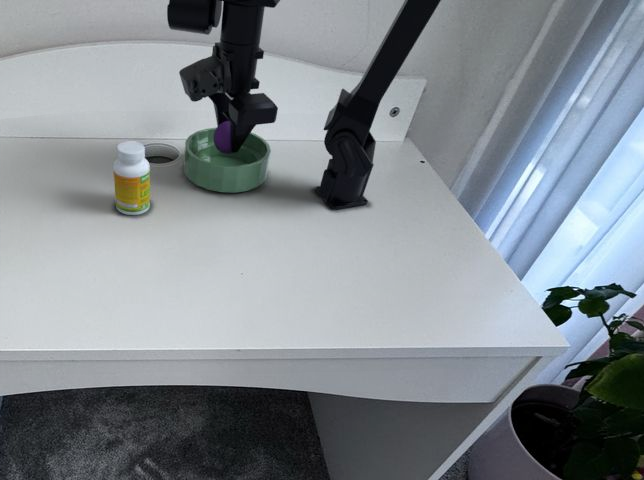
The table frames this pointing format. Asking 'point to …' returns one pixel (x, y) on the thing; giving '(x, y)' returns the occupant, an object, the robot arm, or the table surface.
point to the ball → (223, 138)
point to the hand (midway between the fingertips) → (228, 145)
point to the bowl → (226, 163)
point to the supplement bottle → (132, 178)
